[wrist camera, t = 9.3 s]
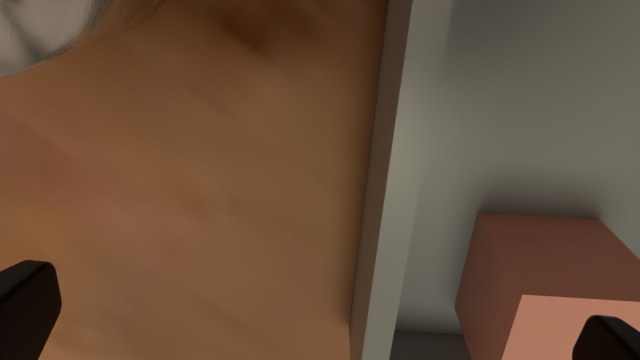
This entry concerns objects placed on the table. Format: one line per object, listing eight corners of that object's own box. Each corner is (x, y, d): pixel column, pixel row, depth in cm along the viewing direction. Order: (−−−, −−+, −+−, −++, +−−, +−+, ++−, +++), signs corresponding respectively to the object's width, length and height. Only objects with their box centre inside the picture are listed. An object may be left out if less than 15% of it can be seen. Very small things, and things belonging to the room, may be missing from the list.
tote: (630, 346, 23) (702, 441, 19) (349, 327, 23) (353, 419, 19) (831, -62, 15) (1039, -66, 11) (400, -93, 15) (428, -110, 11)
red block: (564, 314, 21) (627, 413, 17) (454, 308, 21) (487, 405, 17) (600, 220, 19) (684, 304, 14) (477, 212, 19) (522, 294, 14)
